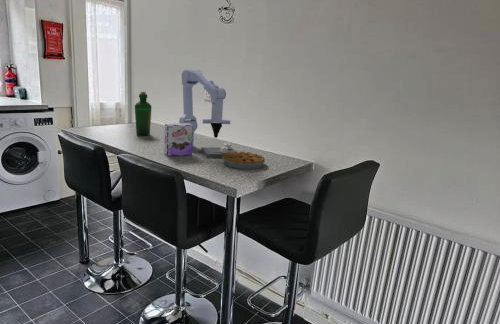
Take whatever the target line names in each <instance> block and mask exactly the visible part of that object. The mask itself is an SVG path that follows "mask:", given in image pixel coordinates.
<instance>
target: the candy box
mask: <svg viewBox="0 0 500 324" xmlns="http://www.w3.org/2000/svg"><path fill="white" fill-rule="evenodd" d="M163 140H164V141H163V143H164V144H163V154H164V155H165V156H166V157H177V156H178V157H180V156H193V147H192V141H193V125H191V124H179V123H166V122H165V123H164V139H163Z"/></svg>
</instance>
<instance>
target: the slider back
mask: <svg viewBox="0 0 500 324" xmlns="http://www.w3.org/2000/svg"><path fill="white" fill-rule="evenodd" d="M223 146H224V147H227V148H228V149H230V148H232V147H231V143H229V142H223Z"/></svg>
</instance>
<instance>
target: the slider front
mask: <svg viewBox="0 0 500 324" xmlns="http://www.w3.org/2000/svg"><path fill="white" fill-rule="evenodd" d="M220 151H221V152H222V153H227V152H228V148H227V147H224V145H222V146H220Z"/></svg>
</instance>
